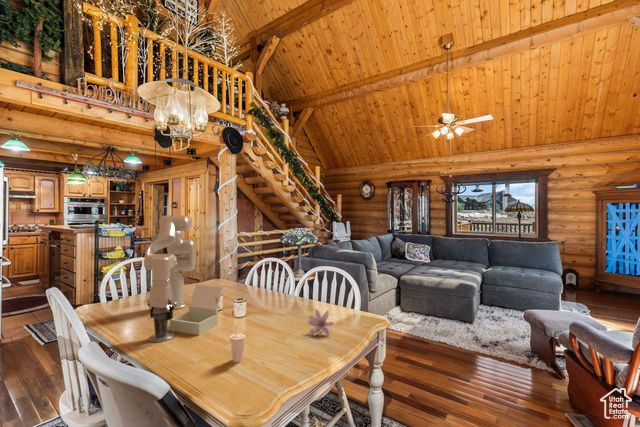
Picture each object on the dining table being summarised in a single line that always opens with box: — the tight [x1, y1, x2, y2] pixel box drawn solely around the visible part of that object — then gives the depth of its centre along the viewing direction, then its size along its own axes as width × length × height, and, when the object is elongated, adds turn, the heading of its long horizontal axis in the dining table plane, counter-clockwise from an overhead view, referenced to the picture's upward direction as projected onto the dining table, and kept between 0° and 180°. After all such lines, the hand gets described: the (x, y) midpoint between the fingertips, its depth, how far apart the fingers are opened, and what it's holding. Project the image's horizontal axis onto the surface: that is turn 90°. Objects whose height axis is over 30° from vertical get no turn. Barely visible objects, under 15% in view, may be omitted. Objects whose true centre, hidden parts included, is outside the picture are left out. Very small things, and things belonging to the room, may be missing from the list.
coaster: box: [148, 331, 175, 344], centre depth 142 cm, size 11×11×1 cm
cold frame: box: [169, 284, 224, 336], centre depth 156 cm, size 18×19×19 cm
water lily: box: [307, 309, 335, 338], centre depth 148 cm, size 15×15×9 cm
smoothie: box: [229, 324, 247, 363], centre depth 120 cm, size 6×6×14 cm
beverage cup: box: [152, 307, 169, 338], centre depth 142 cm, size 7×7×20 cm
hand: (161, 318), depth 142 cm, fingers open, 9 cm apart
